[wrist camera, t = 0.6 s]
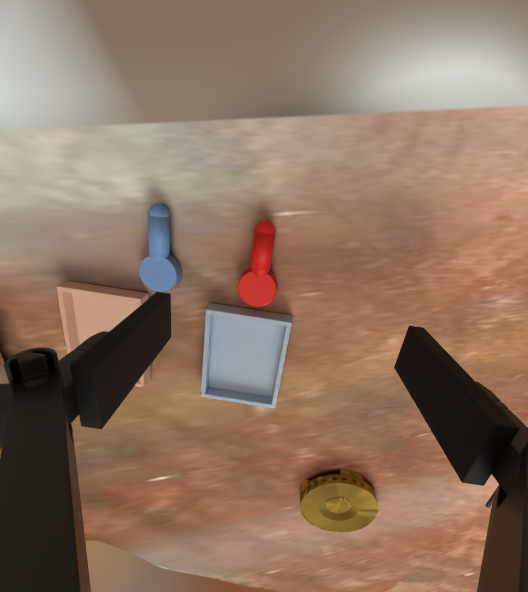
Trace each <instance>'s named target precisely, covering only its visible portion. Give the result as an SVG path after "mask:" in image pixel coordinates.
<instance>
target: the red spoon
mask: <svg viewBox="0 0 528 592" xmlns="http://www.w3.org/2000/svg"><path fill="white" fill-rule="evenodd" d="M274 239H275V227H274V225H273V224H272V223H271V222H269V221H266V220H265V221H261V222H259V223H258V224H257V225H256V227H255V233H254V241H253V249H252V258H251V267H250V269H248V270H247V271H246V272H245V273H244V274H243V275H242V277H241V279H240V281H239V284H238V292H239V295H240V297H241V299H242V300H243V301H244V302H245V303H247V304H249V305H251V306H254V307H261V306H265V305H267V304H269V303H270V302H271V301H272V300H273V299H274V297H275V295H276V289H277V282H276V279H275V276H274V275H273V274H272V273H271V272H270V265H271V259H272V252H273V245H274Z"/></svg>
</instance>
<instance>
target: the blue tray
mask: <svg viewBox="0 0 528 592" xmlns="http://www.w3.org/2000/svg"><path fill="white" fill-rule="evenodd" d="M291 326H292V315H285V314H279V313H273V312H266V311H260V310H253V309H247V308H240V307H234V306H227V305H221V304H215V303H210V304H209V306H208V307H207V309H206V319H205V336H204V352H203V368H202V385H201V397H206V398H212V399H218V400H225V401H231V402H237V403H243V404H249V405H256V406H262V407H268V408H274V409H275V407H276V402H277V397H278V392H279V387H280V382H281V377H282V372H283V367H284V361H285V356H286V351H287V346H288V341H289V336H290V331H291Z"/></svg>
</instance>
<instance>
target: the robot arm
mask: <svg viewBox="0 0 528 592" xmlns="http://www.w3.org/2000/svg"><path fill="white" fill-rule="evenodd" d="M170 338H171V296H170V294H168V293H160V292H156V293H155V294H154V295H153V296H151V297H150V298H149V299H148V300H147V301H145V302H144V303H143V304H142V305H141V306H139V307H138V308H137V309H136V310H135V311H133V312H132V313H131V314H130V315H129V316H127V317H126V318H125V319H124V320H123V321H121V322H120V323H119V324H118V325H117V326H115V327H114V328H113V329H112V330H111V331H109V332H106V331H102V332H99V333H97V334H95V335H92V336H90V337H89V338H88V339H87V340H85V341H84V342H83V343H82V344H80V345H79V346H77V347H76V348H75V350H72V351H71V352H70V353H68V354H67V355H66V356H65V357H63V358H62V359H61V360H59V361H58V357H57V353H56V352H55V350H53V349H50V348H34V349H29V350H25V351H22V352H20V353H17V354H15V355H13V356H12V357H10V358H9V359H8V360H6V362H5V364H4V368H5V371H6V374H7V377H8V381H9V383H5V384H0V449H1V447H2V450H1V458H0V592H91V588H90V580H89V571H88V562H87V553H86V544H85V535H84V527H83V518H82V509H81V500H80V491H79V483H78V474H77V465H76V456H75V447H74V438H73V430H72V425H71V423H72V422H73V420H74V419H75V418H76V417H77V416H78V415H79V416H80V421H81V426H84V427H91V428H97V429H102V428H103V427H104V425H105V424H106V423H107V421H108V420H109V419H110V417H111V416H112V415H113V414H114V412H115V411H116V410H117V408H118V407H119V406H120V404H121V403H122V402H123V400H124V399H125V398H126V396H127V395H128V394H129V392H130V391H131V390H132V388H133V387H134V386H135V384H136V383H137V382H138V380H139V379H140V378H141V376H142V375H143V374H144V372H145V371H146V370H147V368H148V367H149V366H150V364H151V363H152V362H153V360H154V359H155V358H156V356H157V355H158V354H159V352H160V351H161V350H162V348H163V347H164V346H165V344H166V343H167V342H168V341H169V339H170ZM394 368H395V370H396V371H397V373H398V375H399V377H400V378H401V380H402V382H403V383H404V385H405V387H406V388H407V390H408V392H409V393H410V395H411V397H412V399H413V400H414V402H415V404H416V405H417V407H418V409H419V410H420V412H421V414H422V415H423V417H424V419H425V421H426V422H427V424H428V426H429V427H430V429H431V431H432V432H433V434H434V436H435V437H436V439H437V441H438V443H439V444H440V446H441V448H442V449H443V451H444V453H445V454H446V456H447V458H448V459H449V461H450V463H451V465H452V466H453V468H454V470H455V471H456V473H457V475H458V476H459V478H460V480H461V481H462V482H463V483H469V484H476V485H483V486H484V485H485V483H486V482H487V480H488V478H489V477H490V475H491V474H492V475H493V476H494V478H495V479H496V480H497V482H498V483H499V486H498V487H497V489H496V490H495V492H494V493H493V495H492V496H491V498H490V499H489V501H488V502H487V504H486V505H485V506H486V507H488V508H490V506H491V505H492V509H491V514H490V520H489V526H488V532H487V537H486V543H485V549H484V554H483V560H482V566H481V572H480V577H479V583H478V589H477V592H528V428H527V427H526V426H525V425H524V424H523V423H522V422H521V421H520V420H519V419H518V418H517V417H516V416H515V415H514V414H513V413H512V412H511V411H510V410H508V408H507V407H506V406H505V405H504V404H503V403H502V402H500V400H499V399H498V398H497V397H496V396H495V395H494V394H493V393H492V392H491V391H490V390H489V389H487V388H486V387H484V386H483V385H481V384H480V383H479V382H475V381H474V380H473V379H472V378H471V377H470V376H469V375H468V374H467V373H466V372H465V371H464V370H463V368H462V367H461V366H460V365H459V364H458V363H457V362H456V361H455V360H454V359H453V358H452V357H451V356H450V355H449V354H448V353H447V352H446V351H445V350H444V349H443V348H442V347H441V346H440V344H439V343H438V342H437V341H436V340H435V339H434V338H433V337H432V336H431V335H430V334H429V333H428V332H427V331H426V330H425V329H424V328H422V327H414V326H409V328H408V330H407V333H406V336H405V339H404V342H403V344H402V347H401V350H400V353H399V356H398V358H397V361H396V364H395V367H394Z"/></svg>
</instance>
